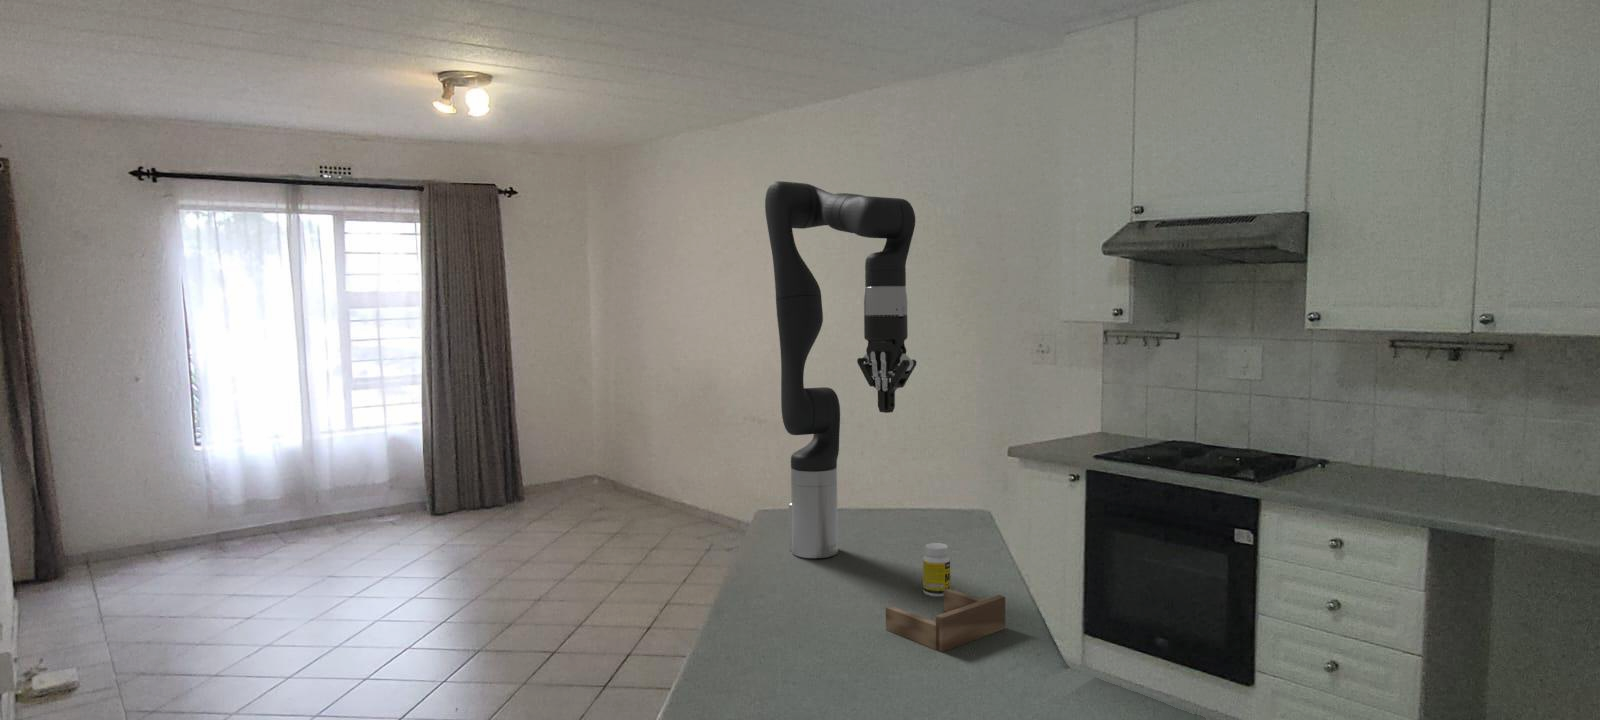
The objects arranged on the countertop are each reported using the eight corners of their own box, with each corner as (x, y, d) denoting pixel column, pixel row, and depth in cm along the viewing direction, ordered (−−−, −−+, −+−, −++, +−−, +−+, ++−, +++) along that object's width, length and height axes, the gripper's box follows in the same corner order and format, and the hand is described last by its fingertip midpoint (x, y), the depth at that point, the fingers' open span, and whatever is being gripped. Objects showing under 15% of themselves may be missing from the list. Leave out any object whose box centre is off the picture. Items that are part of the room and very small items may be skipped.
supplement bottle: (950, 598, 146) (949, 550, 145) (922, 596, 147) (922, 548, 146) (950, 589, 150) (950, 542, 150) (923, 588, 151) (923, 541, 151)
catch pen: (885, 629, 131) (885, 598, 131) (948, 609, 140) (948, 579, 140) (942, 652, 122) (942, 618, 122) (1005, 628, 131) (1005, 596, 131)
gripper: (844, 313, 150) (845, 410, 151) (897, 312, 140) (898, 417, 141) (875, 313, 155) (875, 407, 156) (928, 312, 144) (929, 413, 145)
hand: (886, 412), depth 148 cm, fingers closed
